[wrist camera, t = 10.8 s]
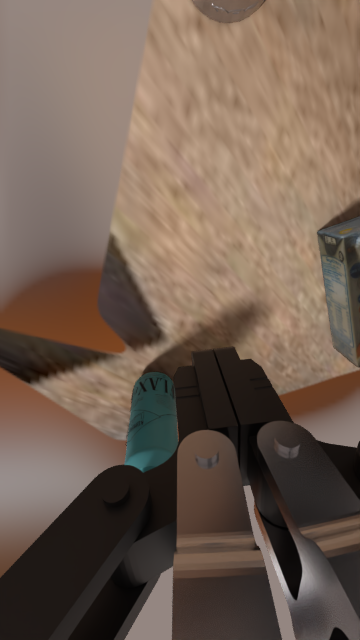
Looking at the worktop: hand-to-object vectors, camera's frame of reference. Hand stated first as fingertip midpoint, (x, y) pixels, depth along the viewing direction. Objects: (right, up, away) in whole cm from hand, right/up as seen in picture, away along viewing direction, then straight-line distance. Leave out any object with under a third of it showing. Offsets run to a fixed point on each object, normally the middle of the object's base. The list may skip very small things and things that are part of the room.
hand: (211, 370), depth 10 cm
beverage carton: (+23, +7, +30) cm, 39 cm away
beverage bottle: (-5, -8, +35) cm, 36 cm away
